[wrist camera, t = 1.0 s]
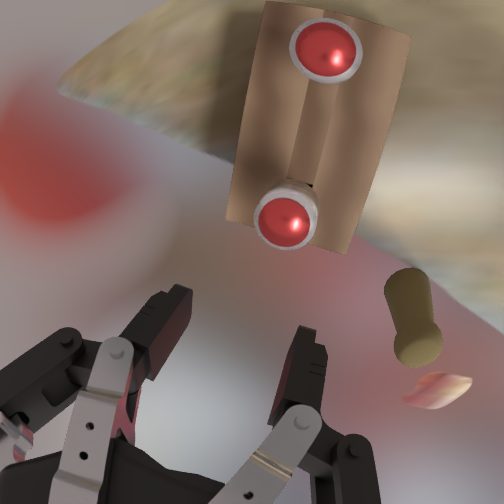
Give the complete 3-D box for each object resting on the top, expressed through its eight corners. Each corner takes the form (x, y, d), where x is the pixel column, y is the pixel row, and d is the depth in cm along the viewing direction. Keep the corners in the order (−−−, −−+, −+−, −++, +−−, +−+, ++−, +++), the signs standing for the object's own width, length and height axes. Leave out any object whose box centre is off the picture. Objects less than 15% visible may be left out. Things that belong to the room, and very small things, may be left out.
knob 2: (360, 44, 18) (369, 27, 12) (349, 92, 20) (354, 91, 15) (306, 31, 19) (295, 10, 13) (296, 78, 21) (282, 73, 15)
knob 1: (327, 176, 25) (323, 204, 19) (314, 221, 27) (305, 259, 21) (278, 163, 25) (259, 185, 20) (268, 207, 28) (247, 241, 22)
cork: (374, 291, 34) (378, 360, 25) (408, 258, 31) (427, 324, 22) (404, 315, 35) (414, 382, 26) (438, 286, 31) (460, 352, 22)
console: (399, 45, 20) (411, 36, 16) (345, 232, 32) (345, 255, 28) (277, 14, 22) (265, 0, 18) (240, 201, 33) (225, 219, 29)
